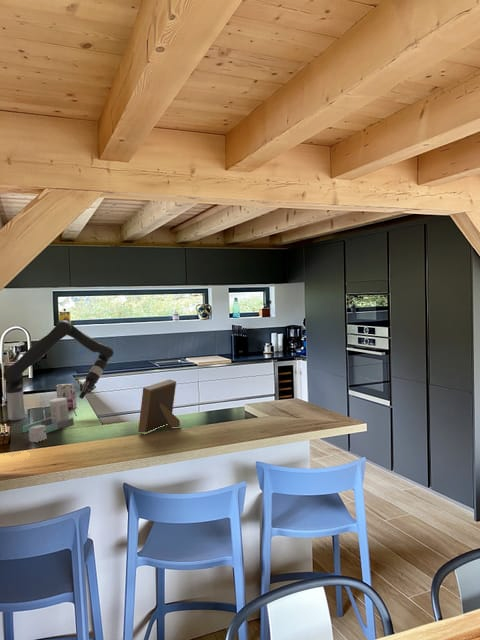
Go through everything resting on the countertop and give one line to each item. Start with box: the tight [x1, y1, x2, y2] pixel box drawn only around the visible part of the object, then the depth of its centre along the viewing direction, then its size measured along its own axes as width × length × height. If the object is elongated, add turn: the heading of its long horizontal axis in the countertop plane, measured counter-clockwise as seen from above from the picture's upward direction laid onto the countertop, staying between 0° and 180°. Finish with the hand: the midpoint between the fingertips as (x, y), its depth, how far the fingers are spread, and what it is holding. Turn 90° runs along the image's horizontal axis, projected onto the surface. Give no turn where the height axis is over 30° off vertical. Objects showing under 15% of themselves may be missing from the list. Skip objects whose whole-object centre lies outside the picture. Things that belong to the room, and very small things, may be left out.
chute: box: [22, 417, 75, 434], centre depth 271 cm, size 15×22×4 cm
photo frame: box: [137, 379, 181, 433], centre depth 250 cm, size 15×22×25 cm
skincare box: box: [28, 425, 48, 443], centre depth 248 cm, size 6×6×7 cm
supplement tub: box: [49, 397, 70, 424], centre depth 278 cm, size 10×10×15 cm
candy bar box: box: [55, 383, 77, 410], centre depth 318 cm, size 11×5×16 cm, turn 80°
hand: (80, 397), depth 291 cm, fingers closed
